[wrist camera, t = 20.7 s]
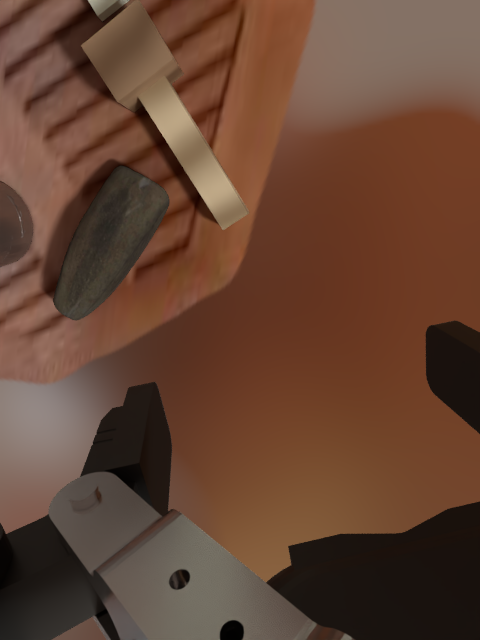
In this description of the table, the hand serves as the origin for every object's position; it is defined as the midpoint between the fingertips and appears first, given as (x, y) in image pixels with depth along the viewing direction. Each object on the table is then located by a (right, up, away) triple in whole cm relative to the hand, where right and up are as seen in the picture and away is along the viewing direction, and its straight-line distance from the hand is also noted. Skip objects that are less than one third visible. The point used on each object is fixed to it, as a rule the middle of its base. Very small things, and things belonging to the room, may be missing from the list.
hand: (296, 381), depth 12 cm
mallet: (-7, +20, +28) cm, 35 cm away
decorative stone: (-15, +10, +32) cm, 37 cm away
